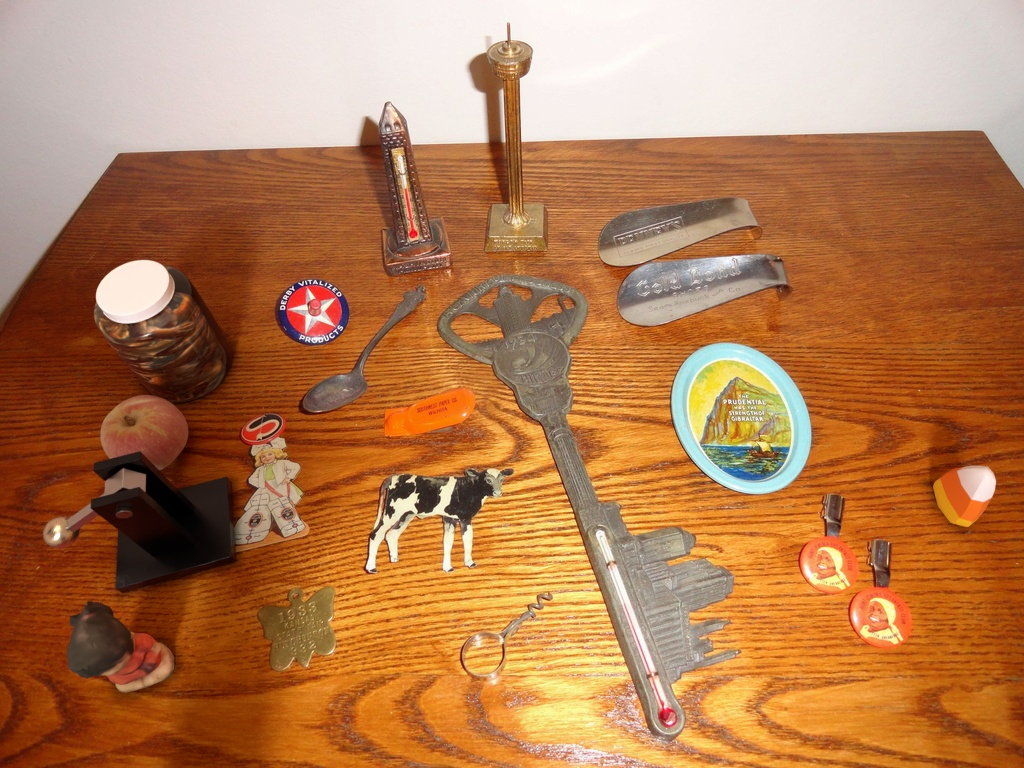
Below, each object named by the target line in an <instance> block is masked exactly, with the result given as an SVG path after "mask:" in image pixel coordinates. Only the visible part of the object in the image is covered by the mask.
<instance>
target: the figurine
mask: <svg viewBox="0 0 1024 768" xmlns="http://www.w3.org/2000/svg"><path fill="white" fill-rule="evenodd" d="M114 615H115V614H114V611H113V609H112V608H111V606H109V605H107V604H105V603H101V602H98V601H92V600H90V601H86V603H85V605H84V607H83V608H82V610H81V612H79V613H78V614H74V615H69V625H70V626H72V627H73V628H72V632H71V634H70V635H71V636H70V638H69V643H68V644H67V645H68V646H67V650H66V656H67V665H68V667H67V668H68V670H69V671H71V672H72V673H74V674H77V675H78V676H79V677H80V678H83V679H87V680H88V679H90V678H92V677H100V676H105V677H107V679H108V680H109V681H110V682H111V683H113V684H114V685H115V689H117V690H118V692H120V693H131V692H134V691H139V690H142V689H146V688H149V687H151V686H153V685H156V684H158V683H161V682H163V681H164V680H167V679H168V678H170V677H171V676H172V675H173V673H174V670H175V659H176V658H175V656H174V653H173V652H172V651H171V650H170V648H168V647H167V645H165V643H163V642H159V641H157V640H156V639H155V638H153V636H152V635H150V634H147V633H144V632H139V633H137V632H136V633H134V632H133V631H130V630H129V629H128V628H127V626H126V625H125V624H124V623H123V622H121V620H119V618H117V617H115V616H114Z"/></svg>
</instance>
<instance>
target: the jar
mask: <svg viewBox="0 0 1024 768" xmlns="http://www.w3.org/2000/svg"><path fill="white" fill-rule="evenodd" d="M95 300H96V302H95V304H94V310H93V318H94V322H95V325H96V327H97V329H98V331H99V332H100V334H101V335H102V336H103V338H104V339H105V340H106V342H107V343H108V345H110V347H111V349H113V351H114V352H115V353H116V354H117V355H118V356H119V358H120V359H121V360H122V361H123V363H124V364H125V365H126V366H127V368H128V369H129V370H130V371H131V372H132V373H133V374H134V376H135V377H136V378H137V379H138V380H139V382H140V383H141V384H142V385H143V386H144V387H145V388H146V390H147V391H148V392H149V393H150V394H151V395H152V396H156V397H160V398H162V399H165V400H167V401H169V402H171V403H186V402H191V401H194V400H197V399H199V398H202V397H204V396H206V395H207V394H209V393H211V392H213V390H215V389H216V388H218V386H219V385H220V384H222V383H223V381H224V380H225V378H226V377H227V375H228V374H229V372H230V370H231V367H232V364H233V358H234V357H233V355H234V354H233V349H232V346H231V343H230V341H229V340H228V338H227V336H226V335H225V333H224V331H223V330H222V328H221V326H220V325H219V323H218V321H217V320H216V318H215V317H214V315H213V313H212V311H211V309H210V308H209V307H208V305H207V304H206V302H205V300H204V299H203V297H202V296H201V294H200V293H199V291H198V289H197V288H196V286H195V285H194V284H193V282H192V281H191V280H190V278H188V276H187V275H186V274H185V273H183V272H182V271H181V270H180V269H177V268H176V267H173V266H169V265H167V264H164V265H163V264H161V263H160V262H157V261H155V260H149V259H138V260H137V259H136V260H132V261H128V262H126V263H123V264H121V265H119V266H116V267H115V268H113V269H112V270H111V271H110V272H108V273H107V274H106V275H105V276H104V277H103V279H102V280H101V281H100V283H99V284H98V286H97V288H96V293H95Z"/></svg>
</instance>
